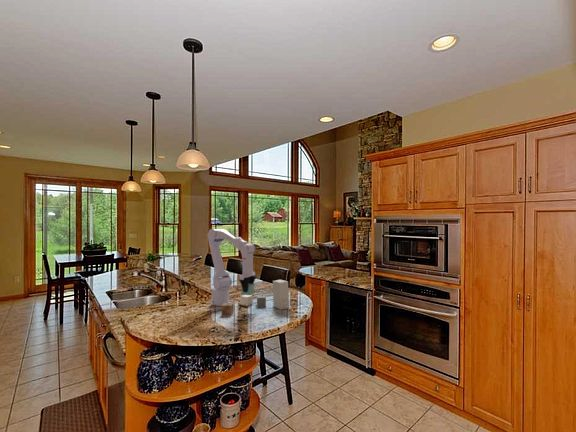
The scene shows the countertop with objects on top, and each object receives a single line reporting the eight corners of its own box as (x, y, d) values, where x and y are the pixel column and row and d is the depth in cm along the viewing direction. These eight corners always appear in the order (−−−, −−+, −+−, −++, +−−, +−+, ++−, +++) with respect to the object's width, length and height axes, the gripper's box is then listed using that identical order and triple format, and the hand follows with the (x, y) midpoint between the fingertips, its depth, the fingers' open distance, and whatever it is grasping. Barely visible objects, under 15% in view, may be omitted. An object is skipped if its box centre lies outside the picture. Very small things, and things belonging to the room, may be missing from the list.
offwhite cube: (240, 304, 173) (240, 296, 173) (245, 302, 177) (245, 294, 177) (247, 306, 170) (247, 297, 170) (252, 304, 174) (252, 295, 175)
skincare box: (289, 308, 166) (289, 281, 166) (280, 310, 162) (280, 282, 162) (281, 304, 173) (281, 278, 173) (272, 306, 169) (272, 280, 169)
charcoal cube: (256, 306, 169) (256, 297, 169) (257, 304, 174) (257, 295, 174) (265, 306, 169) (265, 297, 169) (265, 304, 174) (265, 295, 174)
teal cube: (241, 294, 161) (241, 285, 161) (245, 292, 165) (246, 283, 166) (249, 295, 159) (249, 285, 159) (254, 293, 164) (254, 283, 164)
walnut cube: (221, 315, 154) (221, 305, 154) (224, 312, 159) (224, 302, 159) (231, 315, 153) (231, 305, 153) (233, 312, 158) (233, 302, 158)
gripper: (248, 268, 154) (248, 294, 154) (260, 264, 168) (260, 288, 168) (236, 267, 157) (236, 293, 157) (248, 263, 170) (248, 287, 170)
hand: (247, 290), depth 162 cm, fingers closed on teal cube, 5 cm apart
